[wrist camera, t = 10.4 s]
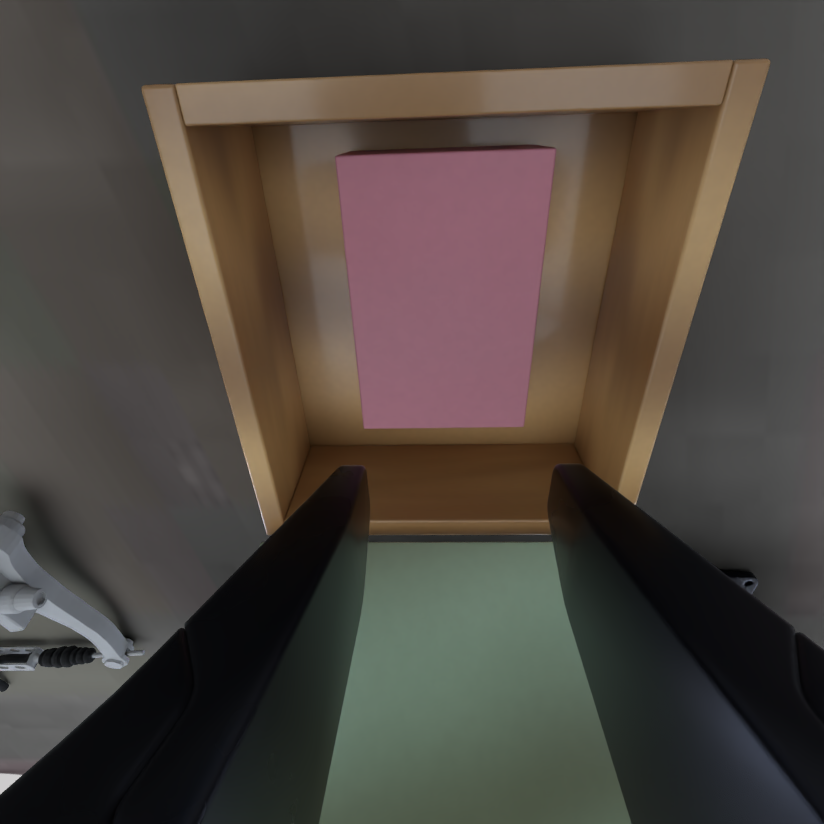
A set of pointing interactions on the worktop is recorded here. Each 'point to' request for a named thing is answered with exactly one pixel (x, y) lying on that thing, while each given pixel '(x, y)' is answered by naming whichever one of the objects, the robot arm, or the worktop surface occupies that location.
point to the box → (560, 284)
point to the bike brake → (48, 610)
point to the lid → (468, 695)
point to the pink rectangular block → (445, 280)
